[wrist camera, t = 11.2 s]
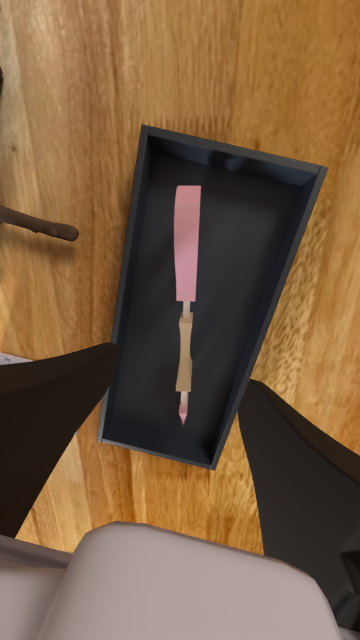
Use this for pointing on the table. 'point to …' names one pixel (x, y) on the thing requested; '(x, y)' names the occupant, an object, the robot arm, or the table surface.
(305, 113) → the table surface
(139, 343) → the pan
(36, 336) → the table surface
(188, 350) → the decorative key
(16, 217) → the bear figurine
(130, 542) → the robot arm
